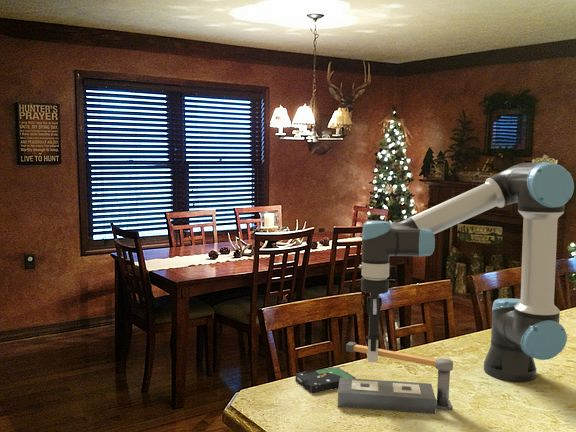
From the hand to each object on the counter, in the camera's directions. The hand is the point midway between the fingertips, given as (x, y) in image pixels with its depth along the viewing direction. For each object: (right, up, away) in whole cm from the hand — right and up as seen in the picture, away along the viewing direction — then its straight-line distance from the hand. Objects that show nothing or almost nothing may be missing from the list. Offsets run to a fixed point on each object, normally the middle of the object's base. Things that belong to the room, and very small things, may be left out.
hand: (372, 361), depth 152 cm
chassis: (+3, -10, -5) cm, 11 cm away
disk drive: (-13, -9, +8) cm, 18 cm away
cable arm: (+7, +1, -1) cm, 7 cm away
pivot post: (+17, -10, -7) cm, 21 cm away
